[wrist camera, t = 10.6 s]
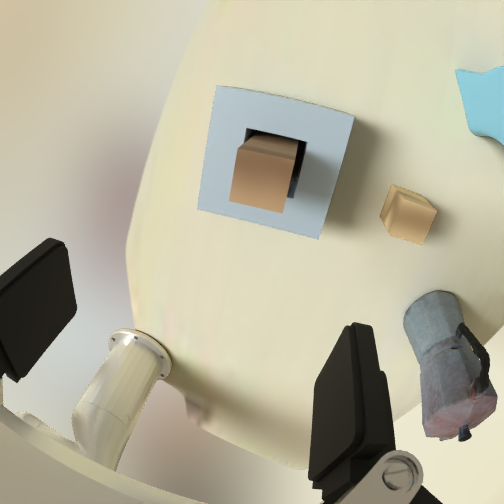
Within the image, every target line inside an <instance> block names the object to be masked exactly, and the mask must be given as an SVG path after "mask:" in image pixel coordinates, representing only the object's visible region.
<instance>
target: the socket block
mask: <svg viewBox="0 0 504 504" xmlns="http://www.w3.org/2000/svg"><path fill="white" fill-rule="evenodd" d="M353 121H354V116H352V115H350V114H348V113H345V112H342V111H338V110H335V109H331V108H328V107H324V106H320V105H317V104H313V103H309V102H305V101H301V100H297V99H292V98H288V97H283V96H279V95H274V94H269V93H264V92H259V91H254V90H248V89H243V88H237V87H229V86H216V91H215V97H214V102H213V108H212V114H211V120H210V126H209V132H208V138H207V144H206V151H205V157H204V164H203V171H202V178H201V185H200V192H199V200H198V208H197V209H198V210H202V211H207V212H211V213H215V214H219V215H223V216H227V217H232V218H236V219H240V220H244V221H248V222H252V223H256V224H260V225H264V226H268V227H272V228H276V229H280V230H284V231H287V232H291V233H295V234H299V235H303V236H307V237H311V238H314V239H319V236H320V233H321V230H322V227H323V224H324V221H325V218H326V214H327V211H328V208H329V205H330V202H331V198H332V195H333V192H334V188H335V185H336V182H337V178H338V175H339V171H340V168H341V164H342V161H343V157H344V154H345V150H346V147H347V143H348V139H349V136H350V132H351V128H352V125H353ZM255 130H260V131H264V132H269V133H273V134H278V135H282V136H286V137H290V138H294V139H298V140H302V141H306V143H305V147H304V151H303V155H302V159H301V163H300V167H299V171H298V175H297V179H296V181H293V180H290V184H289V189H288V193H287V197H286V202H285V206H284V210H283V214H282V213H278V212H274V211H270V210H265V209H261V208H257V207H252V206H248V205H243V204H239V203H234V202H230V201H229V197H230V191H231V185H232V179H233V172H234V166H235V160H236V154H237V149H238V148H239V147H240V146H241V145H242V144H244V143H245V142H246V141H248V140H249V139H250V138H251V137H253V136H254V135H255Z"/></svg>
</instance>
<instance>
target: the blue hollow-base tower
mask: <svg viewBox="0 0 504 504" xmlns="http://www.w3.org/2000/svg"><path fill="white" fill-rule="evenodd" d="M455 73H456V76H457V80H458V84H459V87H460V91H461V95H462V100H463V104H464V108H465V113H466V118H467V122H468V126H469V129H470V131H471V132H472V133H473V134H474V135H476V136H490V137H493V138H495V139H496V140H498V141H499V142H500V143H501V144H503V145H504V66H500V67H496V68H495V69H493V70H491V71H489V72H486V73H476V72H471V71H466V70H462V69H458V70H455Z"/></svg>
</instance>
